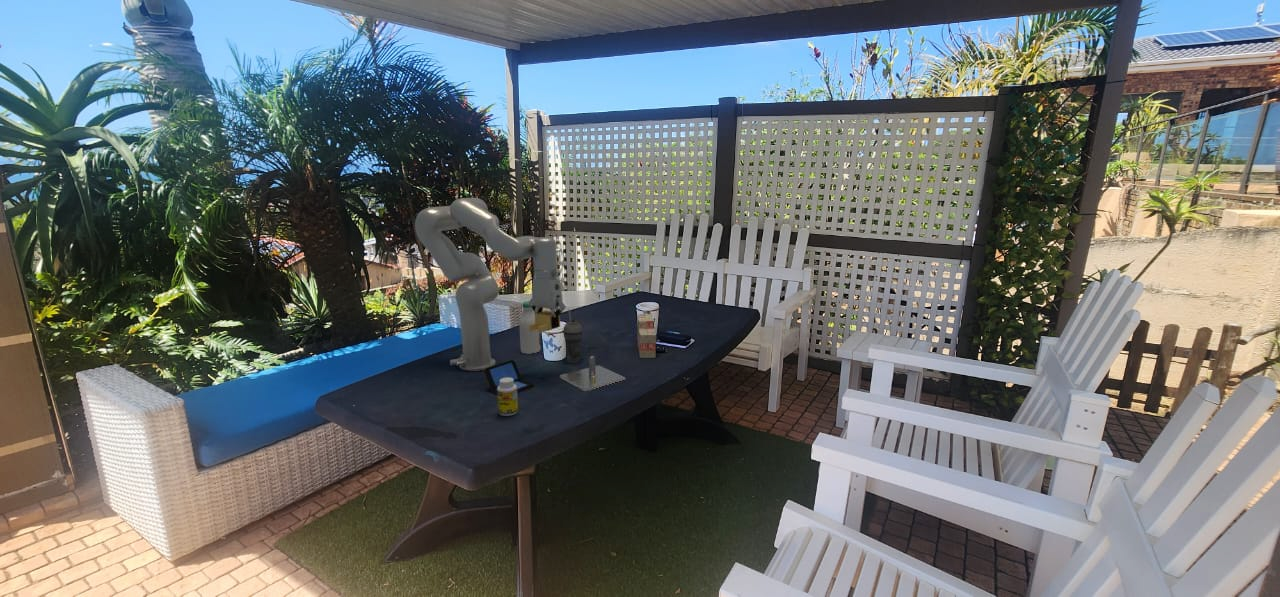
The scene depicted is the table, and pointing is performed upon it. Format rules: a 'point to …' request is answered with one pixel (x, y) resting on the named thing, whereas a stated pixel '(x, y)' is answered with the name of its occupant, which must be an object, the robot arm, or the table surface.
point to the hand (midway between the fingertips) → (547, 325)
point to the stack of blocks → (646, 336)
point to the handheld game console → (506, 371)
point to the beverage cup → (573, 340)
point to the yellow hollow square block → (542, 322)
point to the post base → (584, 377)
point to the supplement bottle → (507, 397)
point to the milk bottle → (528, 338)
